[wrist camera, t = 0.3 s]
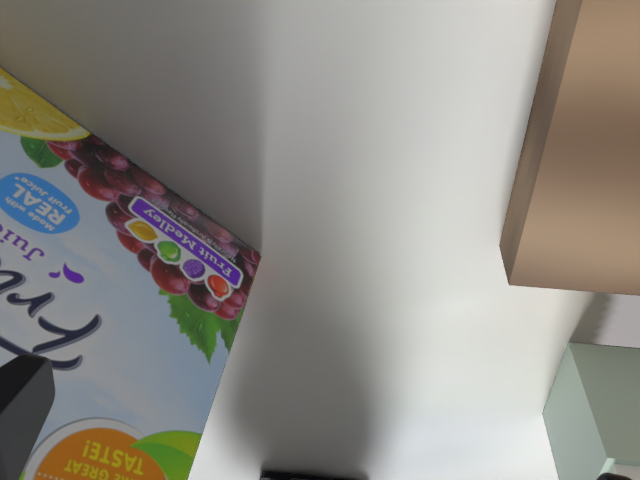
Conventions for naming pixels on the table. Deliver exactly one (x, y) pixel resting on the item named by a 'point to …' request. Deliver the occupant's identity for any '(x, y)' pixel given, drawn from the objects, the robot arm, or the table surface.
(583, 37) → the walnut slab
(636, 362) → the sage box
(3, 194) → the snack box
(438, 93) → the table surface
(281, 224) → the table surface
